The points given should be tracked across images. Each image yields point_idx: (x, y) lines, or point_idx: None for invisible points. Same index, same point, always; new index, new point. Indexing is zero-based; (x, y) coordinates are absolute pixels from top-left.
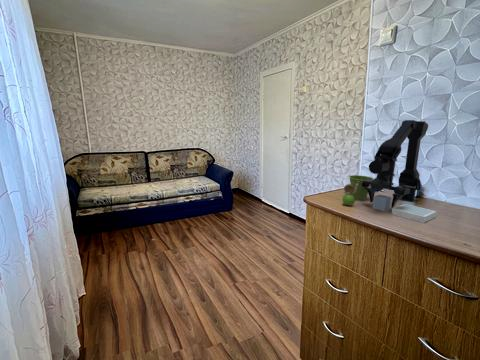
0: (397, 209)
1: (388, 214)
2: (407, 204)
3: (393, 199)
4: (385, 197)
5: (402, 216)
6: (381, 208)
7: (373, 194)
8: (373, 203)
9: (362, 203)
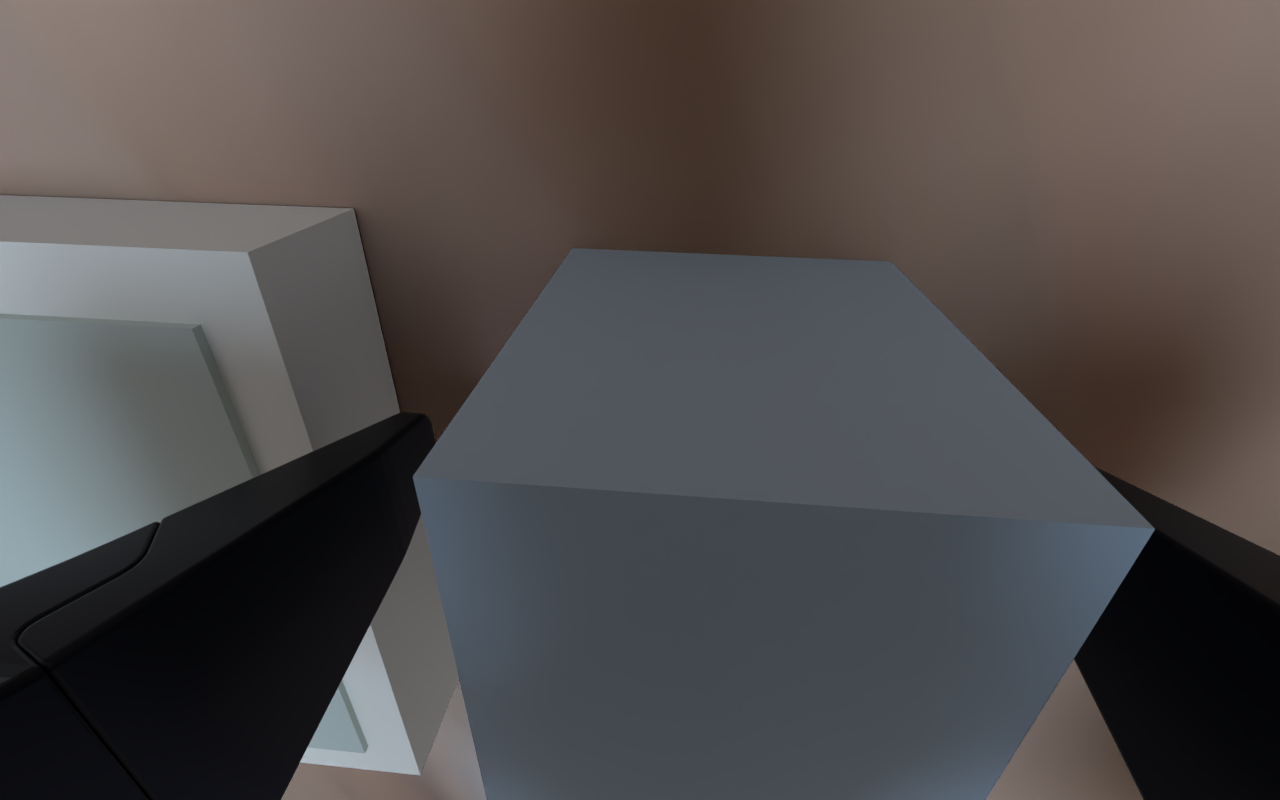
0: (119, 275)
1: (350, 73)
2: (371, 763)
3: (131, 583)
4: (565, 656)
5: (89, 199)
6: (639, 271)
7: (1202, 781)
8: (943, 321)
9: (1244, 438)
